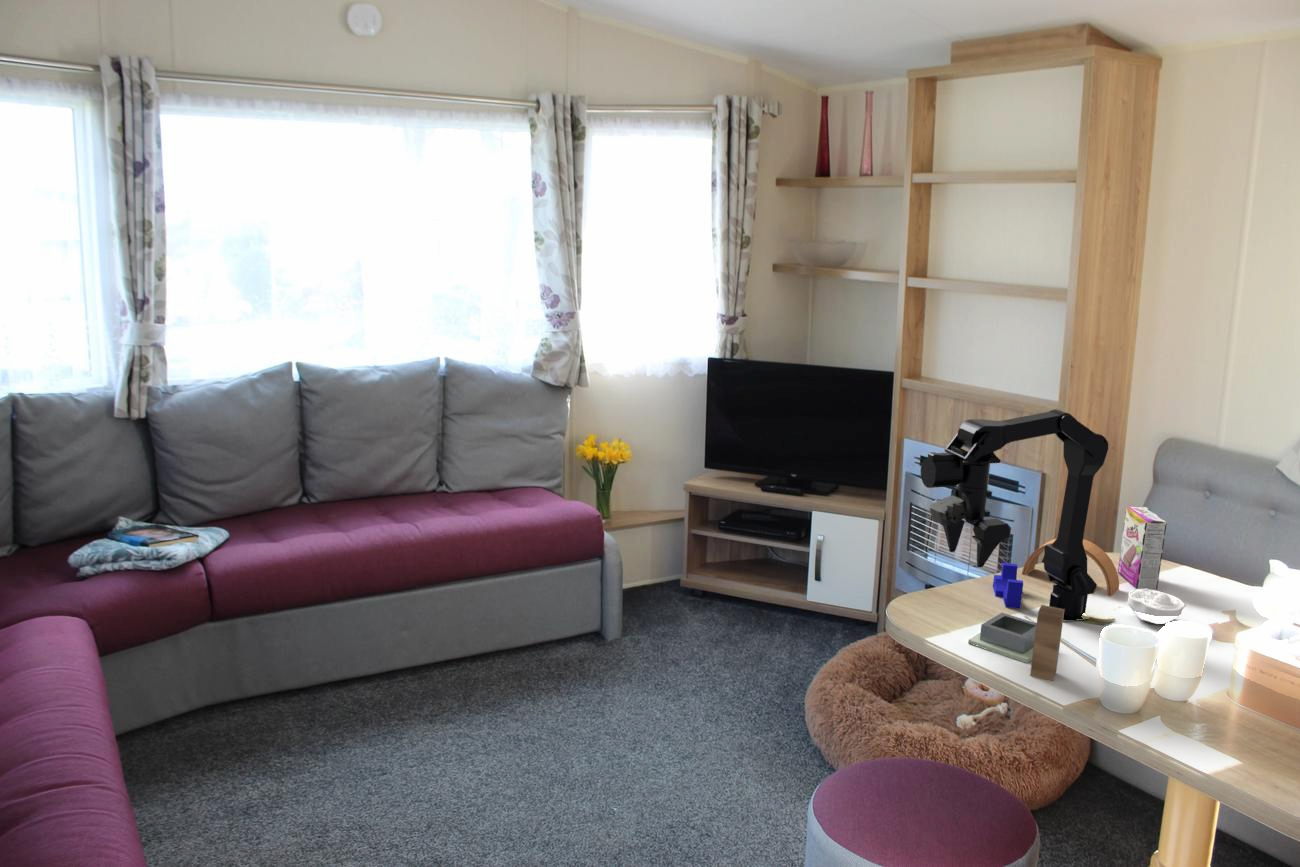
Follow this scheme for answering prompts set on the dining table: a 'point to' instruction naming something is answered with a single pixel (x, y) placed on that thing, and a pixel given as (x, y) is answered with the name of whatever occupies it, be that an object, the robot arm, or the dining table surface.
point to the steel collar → (1009, 632)
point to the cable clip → (1008, 586)
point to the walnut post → (1047, 642)
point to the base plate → (1002, 650)
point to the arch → (1095, 555)
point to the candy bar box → (1142, 547)
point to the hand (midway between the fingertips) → (965, 559)
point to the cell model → (1155, 603)
